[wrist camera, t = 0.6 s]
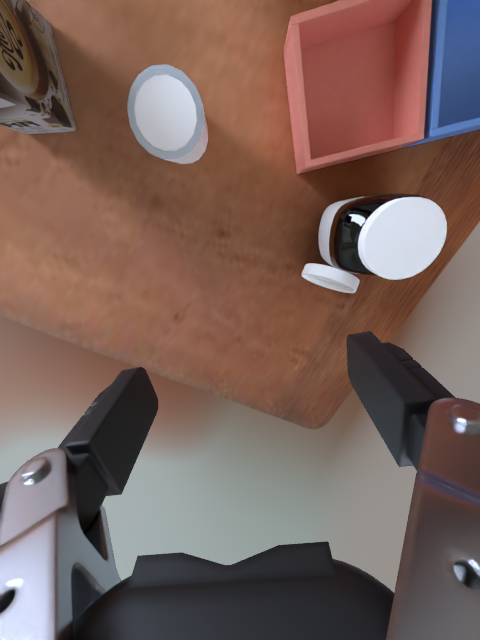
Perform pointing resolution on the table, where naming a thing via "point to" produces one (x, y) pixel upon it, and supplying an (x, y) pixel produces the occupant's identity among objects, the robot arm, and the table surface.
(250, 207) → the table surface
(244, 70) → the table surface
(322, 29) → the red bin
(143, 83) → the shot glass
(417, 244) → the spread jar
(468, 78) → the blue bin
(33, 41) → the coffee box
